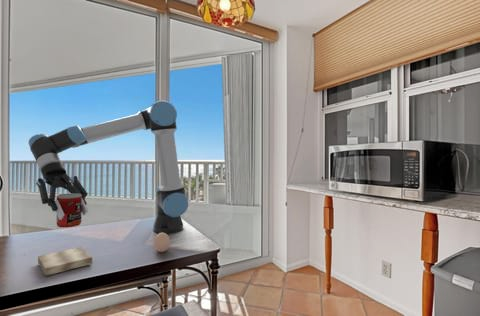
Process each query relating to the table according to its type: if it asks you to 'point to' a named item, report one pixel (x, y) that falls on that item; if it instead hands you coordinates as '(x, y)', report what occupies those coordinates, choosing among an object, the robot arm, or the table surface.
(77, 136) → the robot arm
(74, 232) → the table surface
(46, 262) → the maple stand
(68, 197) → the canned food
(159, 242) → the egg
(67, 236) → the table surface
